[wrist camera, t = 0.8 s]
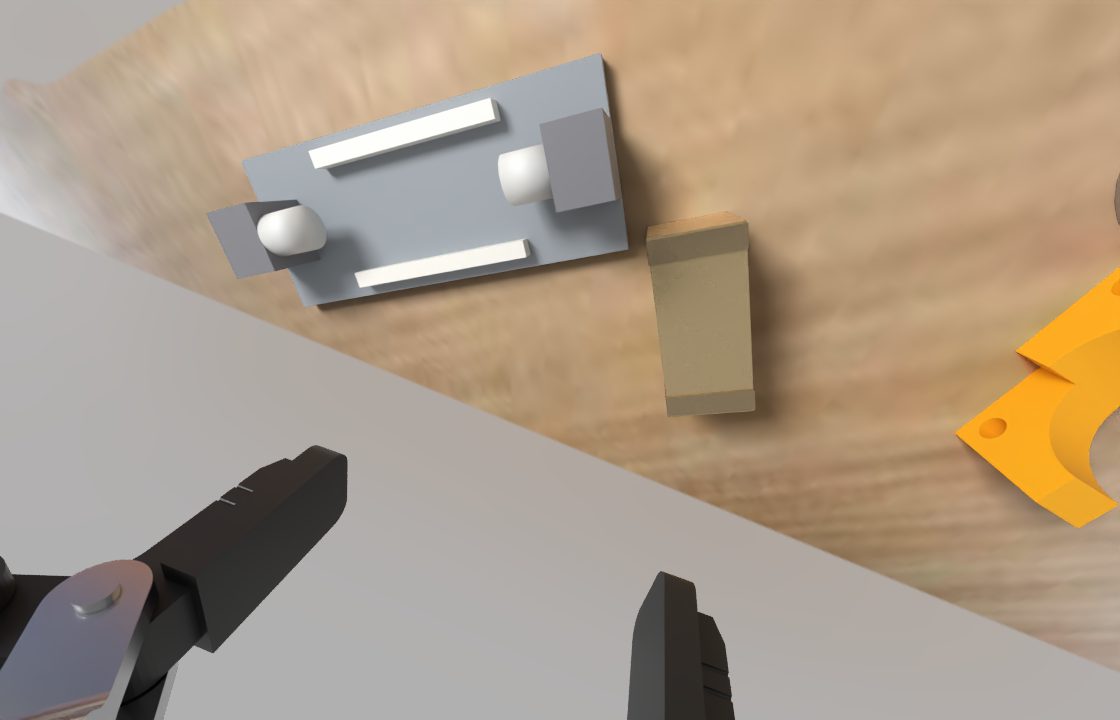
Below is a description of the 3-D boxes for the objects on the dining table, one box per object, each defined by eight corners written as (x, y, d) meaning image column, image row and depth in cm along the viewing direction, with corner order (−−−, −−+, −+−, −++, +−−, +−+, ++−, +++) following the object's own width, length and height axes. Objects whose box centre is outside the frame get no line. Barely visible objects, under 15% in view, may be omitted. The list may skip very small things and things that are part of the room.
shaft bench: (602, 58, 22) (590, 27, 18) (629, 247, 26) (624, 262, 22) (253, 161, 29) (178, 158, 24) (313, 303, 32) (258, 323, 28)
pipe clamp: (1133, 252, 21) (1312, 280, 16) (1201, 296, 22) (1403, 341, 16) (930, 417, 27) (1007, 484, 21) (986, 452, 27) (1078, 528, 21)
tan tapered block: (646, 226, 25) (645, 239, 20) (727, 211, 24) (748, 220, 19) (665, 376, 29) (668, 418, 24) (736, 369, 28) (755, 411, 23)
